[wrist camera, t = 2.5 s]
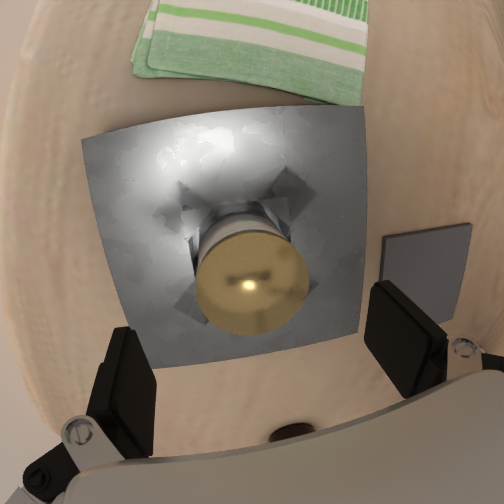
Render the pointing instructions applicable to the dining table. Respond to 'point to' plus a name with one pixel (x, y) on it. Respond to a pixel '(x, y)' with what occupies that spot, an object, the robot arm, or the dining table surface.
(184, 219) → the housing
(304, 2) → the dish towel
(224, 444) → the dining table surface
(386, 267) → the mat
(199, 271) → the can with gold end
